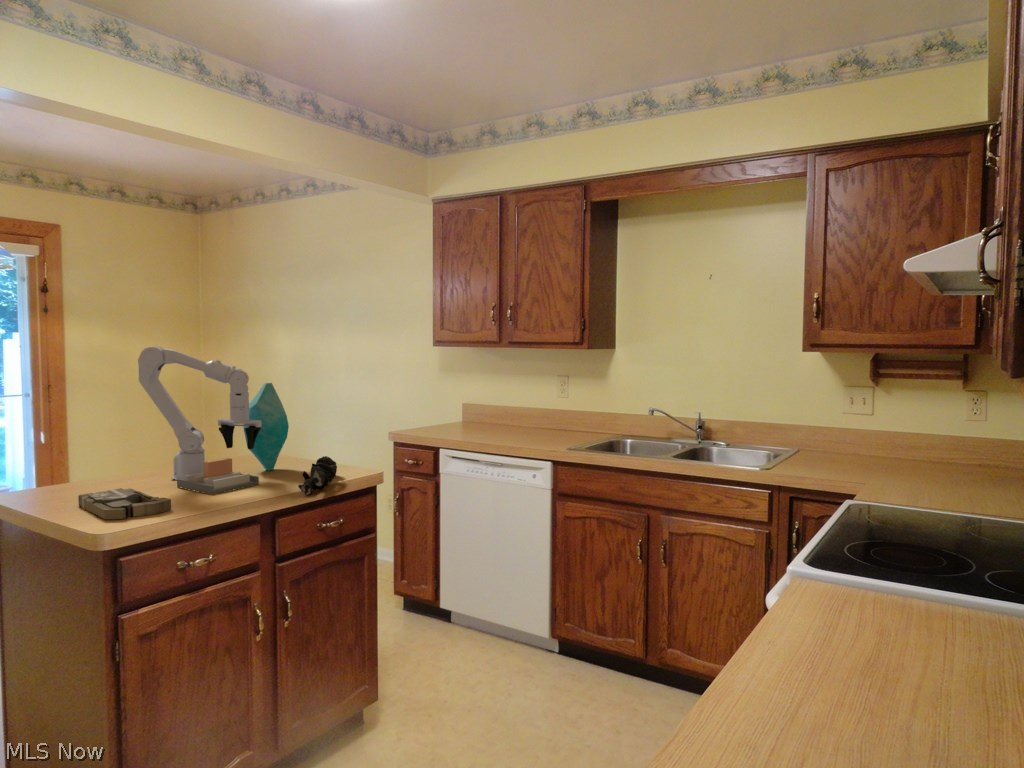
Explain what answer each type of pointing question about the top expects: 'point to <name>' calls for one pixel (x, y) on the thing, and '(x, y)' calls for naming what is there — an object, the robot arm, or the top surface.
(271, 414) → the crystal
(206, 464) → the tile
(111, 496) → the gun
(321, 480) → the figurine
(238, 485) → the rack
